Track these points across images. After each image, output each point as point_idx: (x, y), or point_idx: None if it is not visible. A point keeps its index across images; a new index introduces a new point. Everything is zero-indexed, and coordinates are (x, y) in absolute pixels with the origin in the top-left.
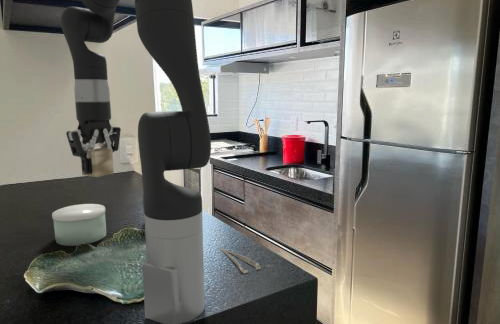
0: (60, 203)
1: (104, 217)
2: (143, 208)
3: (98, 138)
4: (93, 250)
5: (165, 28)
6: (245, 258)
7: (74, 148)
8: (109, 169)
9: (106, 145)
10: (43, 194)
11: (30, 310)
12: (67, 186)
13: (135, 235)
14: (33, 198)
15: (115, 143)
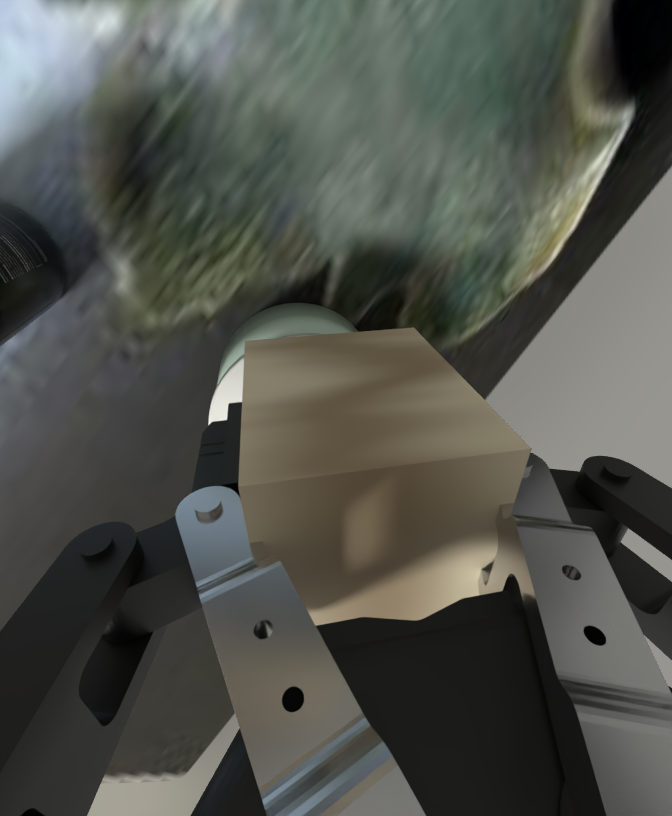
0: (168, 631)
1: (242, 349)
2: (32, 308)
3: (456, 689)
4: (358, 239)
5: None
6: None
7: (640, 580)
8: (290, 354)
9: (281, 576)
10: (159, 700)
11: None
12: None
13: (172, 216)
14: (194, 686)
15: (84, 620)
